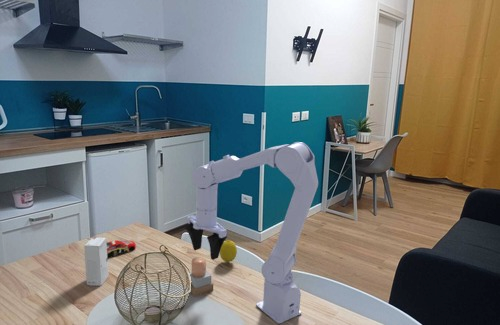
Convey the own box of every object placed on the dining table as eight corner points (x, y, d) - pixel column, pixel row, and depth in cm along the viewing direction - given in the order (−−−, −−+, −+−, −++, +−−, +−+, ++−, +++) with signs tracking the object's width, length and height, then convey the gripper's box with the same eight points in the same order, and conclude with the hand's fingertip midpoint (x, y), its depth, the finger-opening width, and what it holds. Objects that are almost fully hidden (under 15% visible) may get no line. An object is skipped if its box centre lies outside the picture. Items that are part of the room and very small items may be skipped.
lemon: (237, 259, 123) (238, 237, 121) (235, 267, 118) (235, 244, 116) (221, 258, 123) (221, 235, 122) (218, 265, 118) (218, 242, 116)
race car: (131, 244, 131) (131, 234, 130) (138, 250, 127) (138, 239, 126) (94, 254, 122) (93, 243, 121) (100, 261, 118) (99, 249, 118)
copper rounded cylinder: (208, 275, 103) (208, 262, 102) (195, 278, 101) (195, 265, 100) (201, 269, 106) (201, 256, 106) (189, 272, 104) (189, 259, 103)
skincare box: (101, 286, 104) (99, 246, 101) (85, 285, 103) (83, 245, 101) (109, 275, 110) (107, 237, 107) (93, 274, 110) (92, 236, 107)
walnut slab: (213, 291, 104) (213, 283, 104) (194, 298, 101) (194, 290, 100) (202, 282, 109) (202, 274, 108) (184, 288, 105) (184, 280, 105)
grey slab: (211, 283, 104) (211, 275, 103) (195, 288, 101) (195, 280, 100) (203, 275, 108) (203, 267, 107) (187, 280, 105) (187, 272, 104)
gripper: (178, 204, 103) (178, 249, 105) (212, 218, 93) (211, 267, 96) (198, 199, 108) (197, 242, 110) (232, 212, 98) (231, 259, 101)
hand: (205, 253), depth 103 cm, fingers open, 7 cm apart
